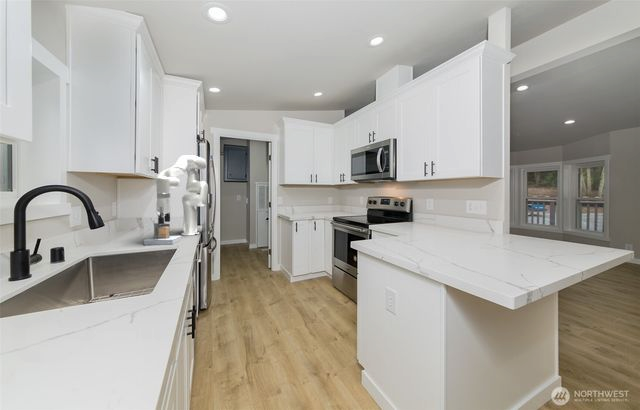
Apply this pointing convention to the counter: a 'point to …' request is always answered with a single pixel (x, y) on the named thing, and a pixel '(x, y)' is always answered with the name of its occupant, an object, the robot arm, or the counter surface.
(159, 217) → the robot arm
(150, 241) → the socket
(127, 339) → the counter surface
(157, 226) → the small box
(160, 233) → the peg
